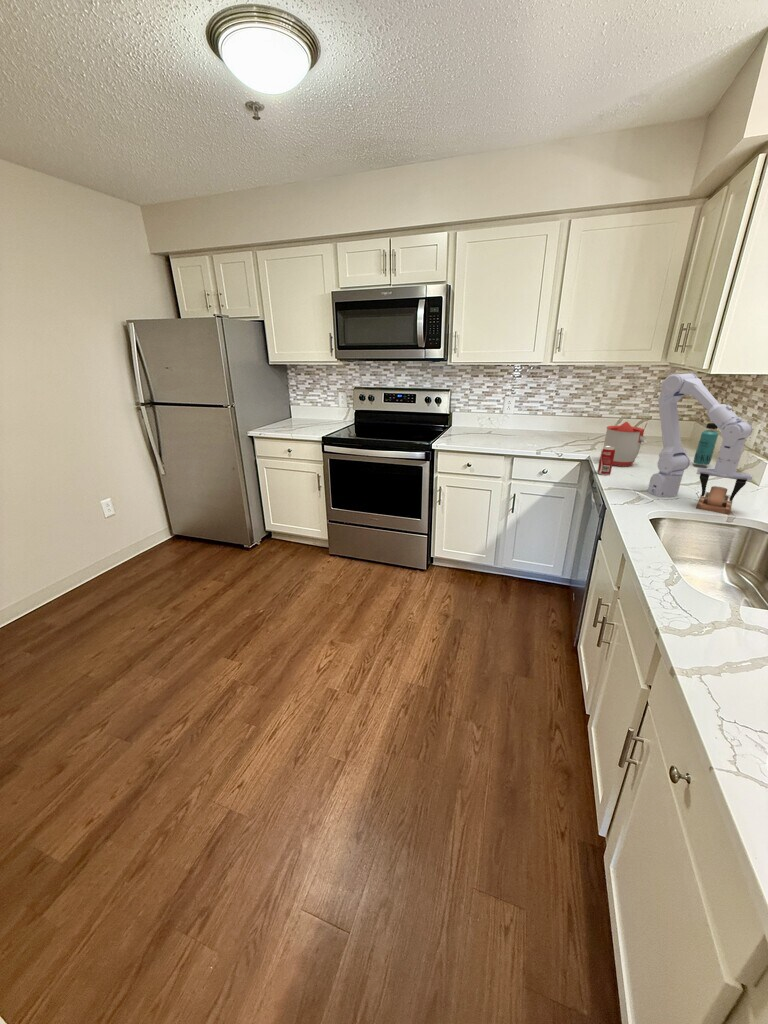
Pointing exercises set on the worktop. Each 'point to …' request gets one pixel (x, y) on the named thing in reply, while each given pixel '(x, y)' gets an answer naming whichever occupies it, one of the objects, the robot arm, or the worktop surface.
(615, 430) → the citrus juicer
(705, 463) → the beverage bottle
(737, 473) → the robot arm
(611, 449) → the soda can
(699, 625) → the worktop surface
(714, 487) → the tube
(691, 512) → the worktop surface
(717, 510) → the tray
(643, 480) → the worktop surface
